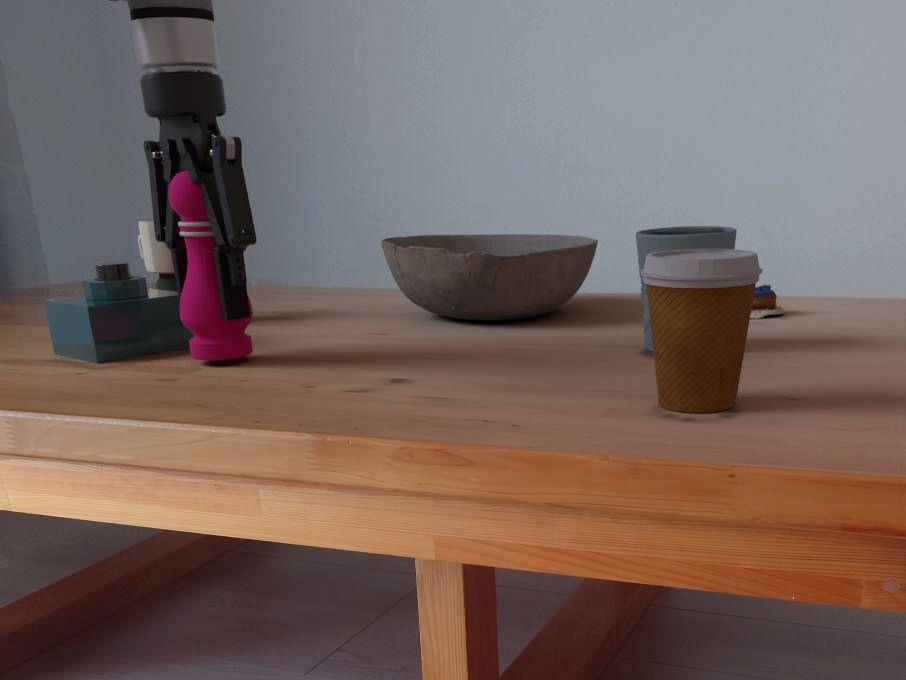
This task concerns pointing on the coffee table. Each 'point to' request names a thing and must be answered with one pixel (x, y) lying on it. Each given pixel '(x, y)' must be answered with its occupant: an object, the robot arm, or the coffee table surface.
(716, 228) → the grey cup
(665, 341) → the disposable coffee cup
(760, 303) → the dessert
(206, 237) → the pepper mill
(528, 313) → the bowl
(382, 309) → the coffee table surface
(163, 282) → the character mug
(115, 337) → the blue-grey boxy piece
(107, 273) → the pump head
